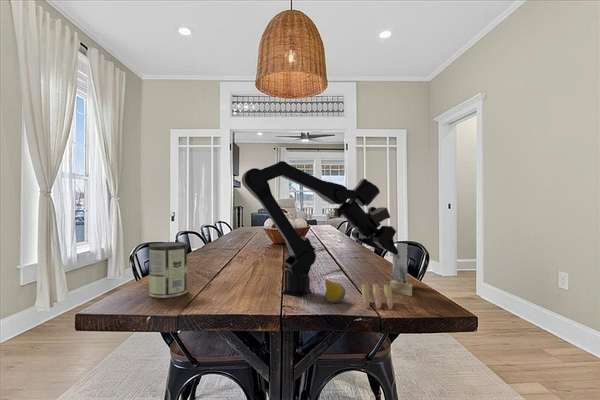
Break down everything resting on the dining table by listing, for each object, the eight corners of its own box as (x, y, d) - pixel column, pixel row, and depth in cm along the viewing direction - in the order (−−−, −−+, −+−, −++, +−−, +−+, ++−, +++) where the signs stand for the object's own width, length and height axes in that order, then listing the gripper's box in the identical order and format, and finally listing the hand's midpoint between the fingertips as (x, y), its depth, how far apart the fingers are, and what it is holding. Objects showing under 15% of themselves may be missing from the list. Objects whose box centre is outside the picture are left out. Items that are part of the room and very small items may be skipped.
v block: (395, 296, 101) (395, 285, 101) (385, 287, 110) (385, 278, 110) (413, 295, 101) (413, 285, 101) (402, 287, 110) (402, 278, 110)
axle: (390, 285, 113) (390, 244, 113) (395, 282, 117) (395, 242, 117) (404, 287, 111) (404, 245, 111) (408, 284, 114) (408, 243, 114)
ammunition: (361, 282, 97) (363, 289, 89) (389, 283, 96) (394, 291, 88) (361, 300, 97) (363, 309, 89) (389, 301, 96) (394, 310, 88)
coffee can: (164, 287, 109) (164, 241, 109) (194, 290, 106) (194, 242, 106) (140, 296, 99) (140, 245, 99) (172, 299, 96) (173, 246, 96)
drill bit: (351, 304, 94) (337, 283, 88) (332, 311, 95) (317, 291, 89) (347, 288, 98) (333, 267, 92) (329, 295, 99) (314, 274, 93)
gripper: (390, 198, 102) (423, 235, 105) (360, 198, 120) (389, 230, 123) (365, 226, 100) (399, 264, 103) (338, 222, 118) (368, 254, 121)
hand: (389, 251), depth 113 cm, fingers open, 9 cm apart
